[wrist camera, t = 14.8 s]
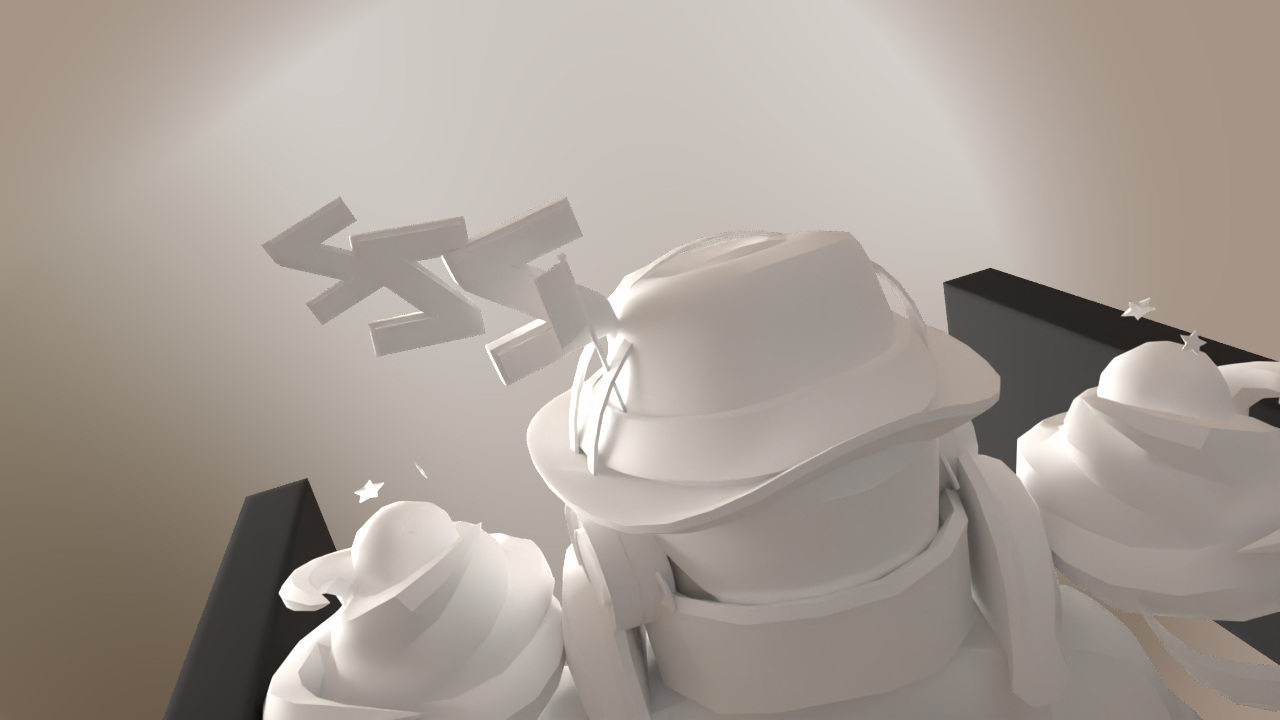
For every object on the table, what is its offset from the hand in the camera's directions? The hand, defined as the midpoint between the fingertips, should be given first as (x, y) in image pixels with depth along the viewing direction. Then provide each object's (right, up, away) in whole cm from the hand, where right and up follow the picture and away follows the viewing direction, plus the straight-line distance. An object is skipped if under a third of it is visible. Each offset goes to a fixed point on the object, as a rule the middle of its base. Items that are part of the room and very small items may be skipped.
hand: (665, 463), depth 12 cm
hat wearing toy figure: (+3, -8, -2) cm, 9 cm away
